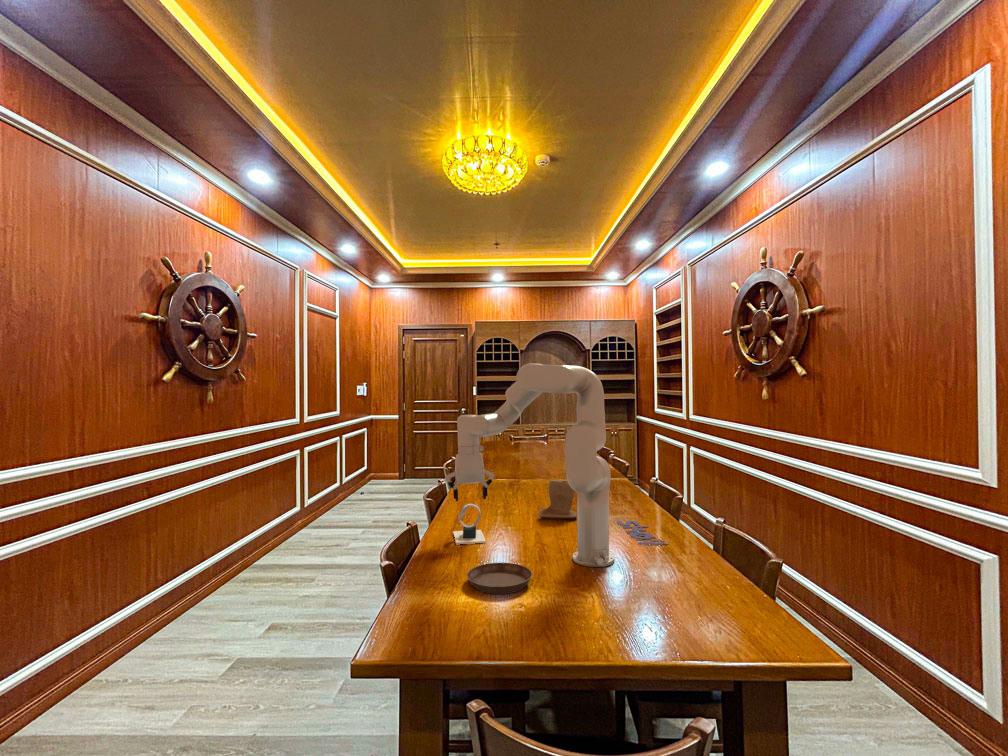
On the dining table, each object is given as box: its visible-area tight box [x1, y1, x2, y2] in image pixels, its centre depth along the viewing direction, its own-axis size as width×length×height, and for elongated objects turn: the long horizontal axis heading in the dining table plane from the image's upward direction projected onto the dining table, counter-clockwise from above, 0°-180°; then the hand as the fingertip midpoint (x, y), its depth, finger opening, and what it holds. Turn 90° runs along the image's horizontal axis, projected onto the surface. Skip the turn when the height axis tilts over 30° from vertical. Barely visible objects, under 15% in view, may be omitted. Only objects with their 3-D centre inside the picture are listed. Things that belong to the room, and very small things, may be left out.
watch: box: [457, 503, 482, 539], centre depth 176 cm, size 6×8×11 cm
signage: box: [616, 520, 669, 546], centre depth 182 cm, size 28×1×10 cm
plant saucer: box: [466, 562, 533, 595], centre depth 137 cm, size 18×18×3 cm
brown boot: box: [538, 479, 577, 519], centre depth 203 cm, size 15×12×15 cm
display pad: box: [452, 529, 487, 546], centre depth 176 cm, size 13×10×1 cm
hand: (470, 499), depth 176 cm, fingers open, 9 cm apart
